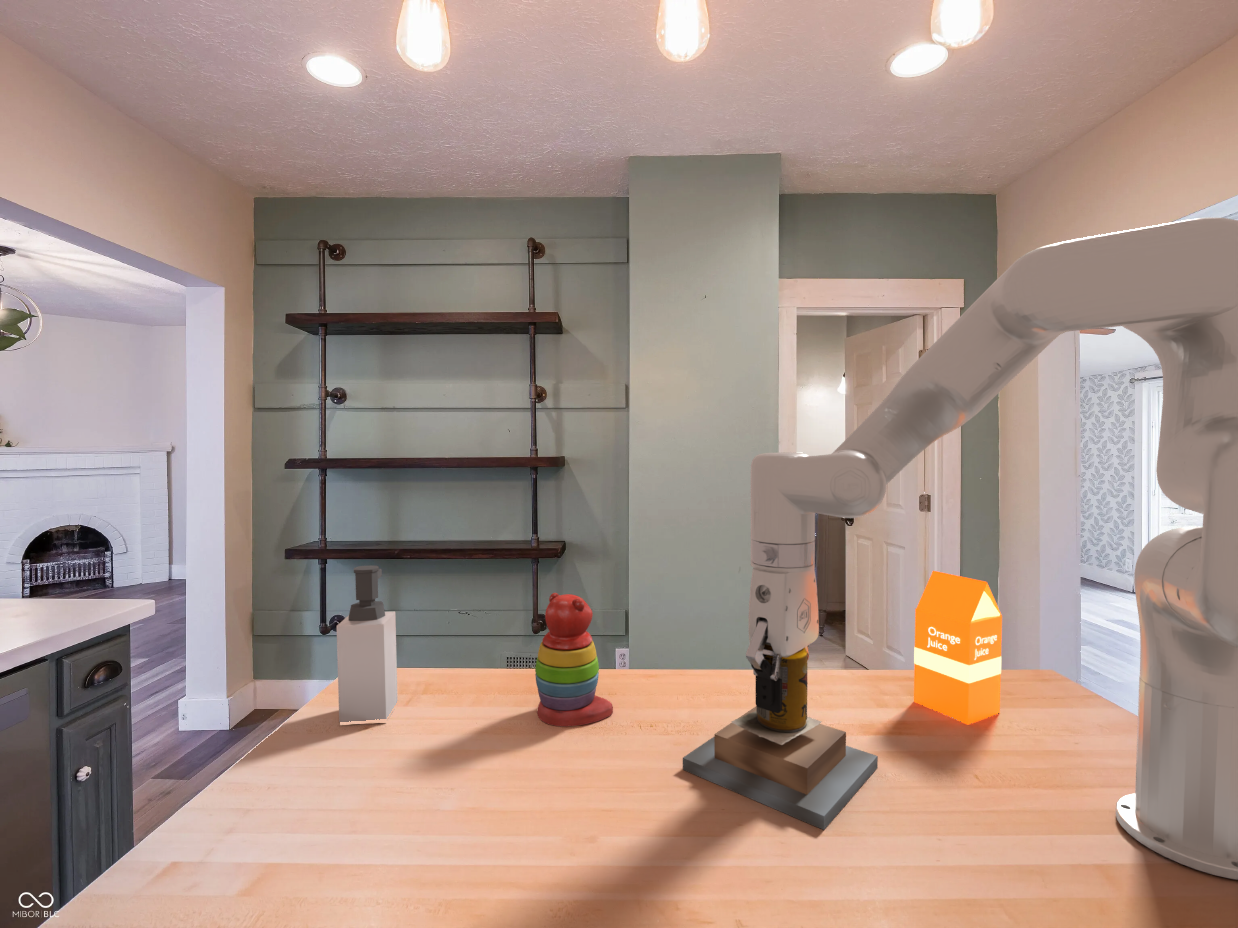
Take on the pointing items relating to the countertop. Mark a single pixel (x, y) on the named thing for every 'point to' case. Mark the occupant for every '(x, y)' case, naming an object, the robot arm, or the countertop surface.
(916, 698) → the orange juice
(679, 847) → the countertop surface
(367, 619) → the soap dispenser
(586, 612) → the stacking bear
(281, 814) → the countertop surface
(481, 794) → the countertop surface
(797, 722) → the condiment
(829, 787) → the plinth
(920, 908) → the countertop surface
